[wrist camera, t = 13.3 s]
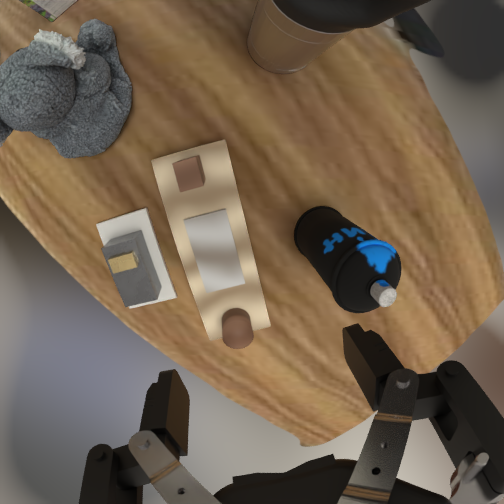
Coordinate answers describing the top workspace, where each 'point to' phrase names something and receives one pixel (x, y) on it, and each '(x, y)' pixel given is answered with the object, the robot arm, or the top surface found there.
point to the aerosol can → (349, 260)
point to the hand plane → (213, 241)
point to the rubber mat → (144, 223)
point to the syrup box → (49, 7)
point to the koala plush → (67, 90)
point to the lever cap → (132, 268)
